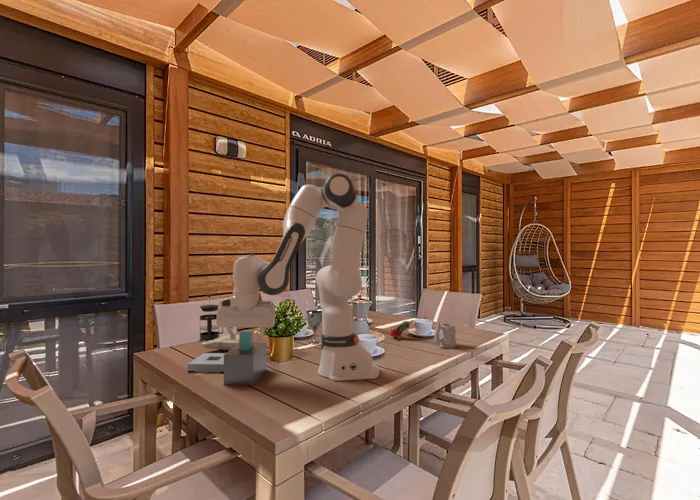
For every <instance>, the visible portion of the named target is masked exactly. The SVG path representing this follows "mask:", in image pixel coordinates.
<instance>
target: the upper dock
mask: <svg viewBox="0 0 700 500" xmlns="http://www.w3.org/2000/svg"><path fill="white" fill-rule="evenodd" d="M224 353H225V354H224V373H223V385H224V386H254V385H255V384H256V383H257V382H258V380H259V379H260V378H261V376H262V375H263V374H264V373H265V371H266V370H267V342H253V349H252V350H251V351H248V350H239V343H238V344H237V345H236V346H235V347H233V348H232V349H231V350H229V351H226V352H224Z"/></svg>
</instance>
